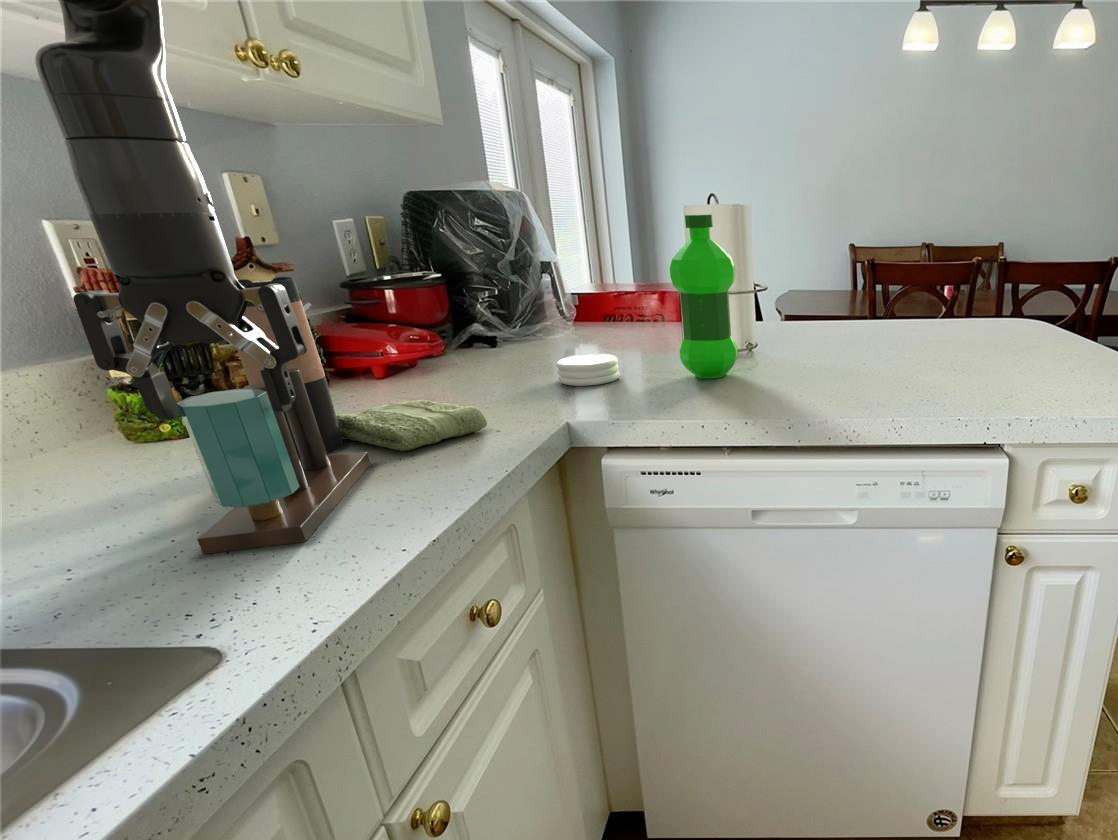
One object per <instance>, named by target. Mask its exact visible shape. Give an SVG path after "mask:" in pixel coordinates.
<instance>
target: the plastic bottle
mask: <svg viewBox="0 0 1118 840" xmlns="http://www.w3.org/2000/svg"><path fill="white" fill-rule="evenodd" d="M684 221H685V228H686V229H689V239H688V241H687V242H685V244H684V245H683V246H682V247H681V248H679V250H678V251H677V253H675V255H674V256H673V257H672V259H671V261H670V264H669V265H670V266H669V276H670V280H671V283H672V286H673V287H674V289H676V291H678V292H679V296H680V306H681V307H680V308H681V318H682V329H683V340H682V342H681V345H680V349H679V359H680V361H681V363H682V366H684V367H685V368H686V370H688V371H689V373H691V374H693V375H695V378H699V379H717V378H718V379H719V378H722V377H726V375H727V373H728V372H729V371H730V370H731V369H732V368H733V366H734V365H735V363H736V361H737V357H738V354H739V353H738V352H739V351H738V345H737V342H736V340H735V338H734V337H733V335H732V330H731V328H732V327H731V326H732V325H731V311H730V296H729V295H730V294H729V289H730V288H731V287H732V286H733V285H734V283H735V276H736V268H735V267H736V265H735V262H734V260H733V258H732V256H731V255H730V254H729V253H728V252H727V251H726V250H724V248H723V247H722V246H721V245H719V244H718V242H716V241H715V240H714V239H712V238H711V228H713V227H714V222H713V221H714V220H713V214H685V215H684Z"/></svg>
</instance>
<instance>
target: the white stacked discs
mask: <svg viewBox="0 0 1118 840" xmlns="http://www.w3.org/2000/svg"><path fill="white" fill-rule="evenodd" d="M618 363H619V359H618V357H616V355H612V354H606V353H587V354H577V355H576V354H575V355H570V356H567V357H563V358H561V359H559V360H558V361H557V362H556V365H555V367H556V368H557V374H558V375H559V376H558V381H559V382H560V383H561V384H563V385H566V386H571V387H572V386H573V387H589V386H599V385H604V384H608V383H612V382H614V381H617V380H618V379H619V378H620V376H621V374H620V371H619V370H620V366H619V364H618Z"/></svg>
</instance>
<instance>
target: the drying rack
mask: <svg viewBox="0 0 1118 840" xmlns="http://www.w3.org/2000/svg"><path fill="white" fill-rule="evenodd" d="M288 372H289V375H290V378H291V381H292V384H293V388H294V391H295V394H296V398H295V401H294V402H292V403H291V408H290V409H288V410H287V411H285V413H286V416H287V419H288V422H289V425H290V427H291V430H292V433H293V436H294V439H295V442H296V445H297V448H298V451H299V454H300V457H301V458H299V457H298V454H297V451H296V448H295V445H294V442H293V440H292V437H291V434H290V431H289V428H288V425H287V422H286V419H285V416H284V413H283V412H275V411H274V410H273V412H274V415H275V418H276V421H277V423H278V426H279V429H280V432H281V435H282V438H283V441H284V444H285V446H286V449H287V452H288V455H289V458H290V461H291V464H292V467H293V469H294V472H295V475H296V478H297V481H298V484H299V488H298V489H297V490H296V491H295V492H294V493H293V494H291V495H288V496H286V497H283V498H280V499H278V500H275V501H272V502H268V503H263V504H258V505H253V506H247V507H232V509H230V510H229V511H227V513H226V514H224V515H223V516H222V517H221V518H220V519H218V520H216V522H215V523H213V524H212V525H211V526H210V527H209V528H208V529H207V530H206V531H204V532H203V533H202V534H201V535H200V536H199V537H197V538H196V540H197V542H198V545H199V547H200V550H201V552H202V555H208V554H217V553H224V552H225V553H226V552H232V551H233V552H234V551H241V550H251V549H257V548H266V547H274V546H281V545H291V544H299V543H306V542H307V541H308V540H309V539H310V538H311V536H312V535H313V534H314V533H315V532H316V530H317V529H318V528H319V527H320V525H321V524H322V523H323V522H324V521H325V519H327V517H328V516H329V515H330V514H331V512H332V511H333V510H334V509H335V508H336V506H337V505H338V504H339V503H340V501H341V500H342V499H343V498H344V497H345V496H346V495H347V493H348V492H349V491H350V490H351V489H352V487H353V486H354V485H355V484H356V482H357V481H358V480H359V479H360V478H361V477H362V476H363V474H364V473H365V472H366V471H367V469H368V468H369V467H370V466H371V464H372V462H371V460H370V456H369V452H368V451H364V452H362V451H361V452H351V453H343V454H333V455H332V454H331V455H328V454H327V453H328V452H327V453H326V450H325V447H324V444H323V441H322V438H321V435H320V432H319V428H318V425H317V422H316V419H315V416H314V413H313V410H312V407H311V404H310V401H309V398H308V394H307V391H306V388H305V385H304V382H303V379H302V376H301V373H300V370H299V369H288ZM242 389H261V390H263V391H266V392H267V390H266V387H265V384H264V383H261V384H254V385H249V384H248V385H246V386H244V387H242ZM267 395H268V393H267ZM268 398H269V396H268ZM269 400H270V399H269ZM270 403H271V402H270ZM271 406H272V405H271ZM272 409H273V408H272Z"/></svg>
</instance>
